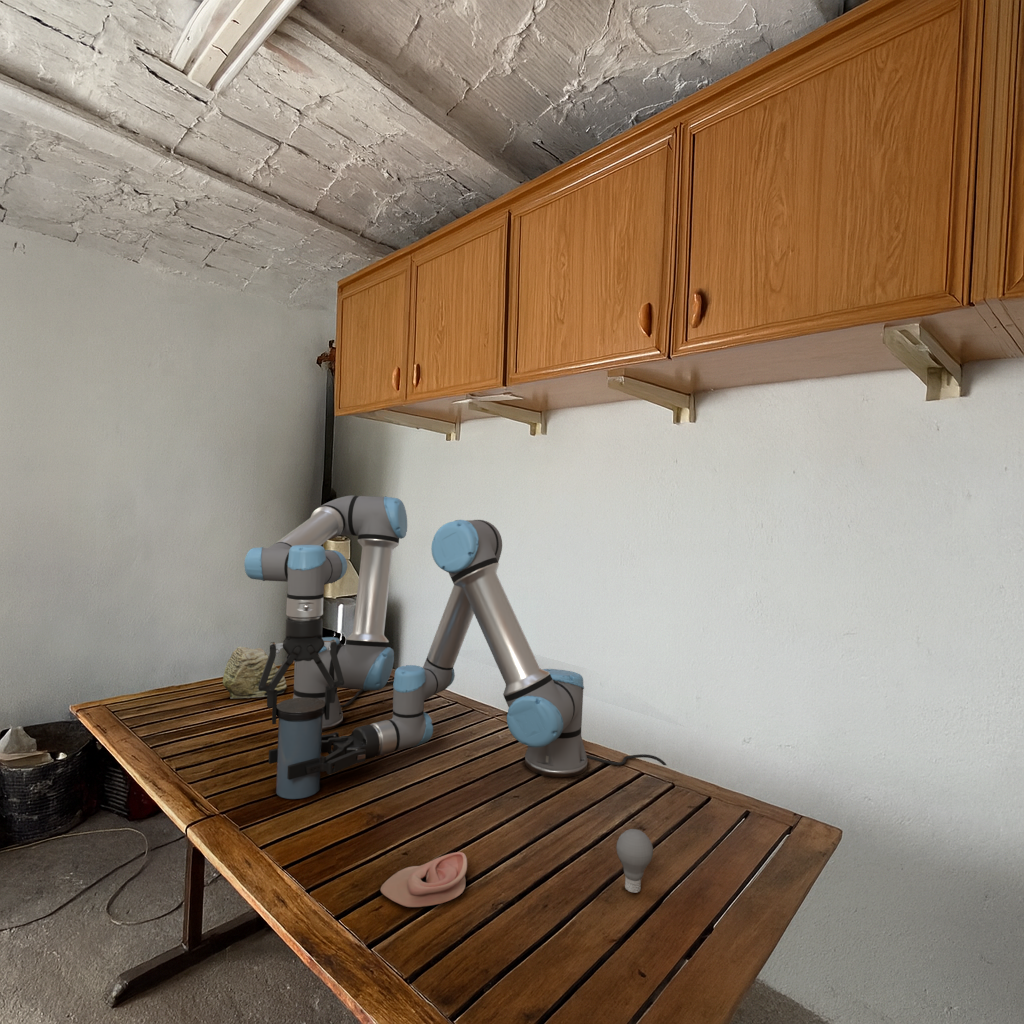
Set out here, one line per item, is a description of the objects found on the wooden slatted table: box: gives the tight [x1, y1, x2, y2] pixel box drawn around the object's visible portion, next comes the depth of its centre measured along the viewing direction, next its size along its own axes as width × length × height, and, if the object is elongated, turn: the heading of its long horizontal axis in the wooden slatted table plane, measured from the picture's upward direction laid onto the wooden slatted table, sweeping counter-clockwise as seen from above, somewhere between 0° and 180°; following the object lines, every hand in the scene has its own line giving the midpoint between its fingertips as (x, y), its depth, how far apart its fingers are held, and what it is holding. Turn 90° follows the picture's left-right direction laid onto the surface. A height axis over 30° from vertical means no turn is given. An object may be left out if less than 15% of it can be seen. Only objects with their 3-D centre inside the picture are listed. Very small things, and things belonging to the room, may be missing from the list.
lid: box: [276, 697, 326, 721], centre depth 136 cm, size 10×10×2 cm
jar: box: [275, 715, 323, 800], centre depth 137 cm, size 9×9×18 cm
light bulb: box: [615, 828, 654, 894], centre depth 106 cm, size 6×6×10 cm
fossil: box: [222, 646, 288, 699], centre depth 198 cm, size 9×18×15 cm, turn 132°
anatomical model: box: [380, 851, 468, 908], centre depth 104 cm, size 13×4×12 cm
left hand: (300, 719), depth 136 cm, fingers closed on lid, 10 cm apart
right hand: (278, 764), depth 134 cm, fingers closed on jar, 9 cm apart
